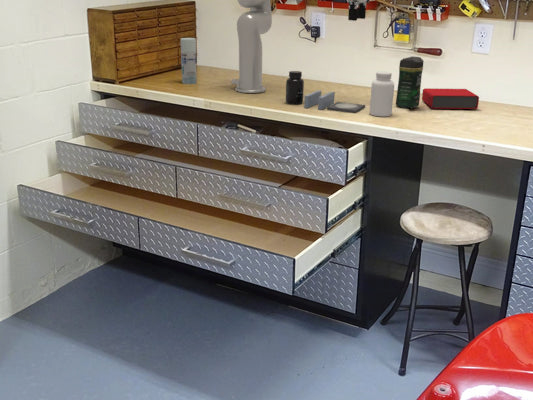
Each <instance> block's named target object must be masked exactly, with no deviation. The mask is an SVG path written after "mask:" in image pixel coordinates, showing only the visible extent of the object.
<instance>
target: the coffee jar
mask: <svg viewBox="0 0 533 400" xmlns="http://www.w3.org/2000/svg"><path fill="white" fill-rule="evenodd" d="M398 67H399V68H398V69H399V71H398V72H399V73H398V83H397V89H396V99H395V105H396V107H399V108H402V109H407V108H409V109H412V108H413V109H414V108H416V107H418V106H419V105H420V99H421V86H422V85H421V84H422V76H423V75H422V74H423V70H424V59H422V57H421V56H409V57H404V58H401V60H400V61H399V66H398Z"/></svg>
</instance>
